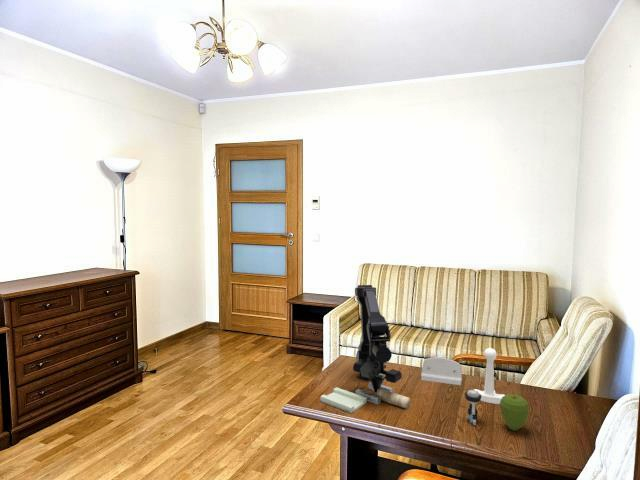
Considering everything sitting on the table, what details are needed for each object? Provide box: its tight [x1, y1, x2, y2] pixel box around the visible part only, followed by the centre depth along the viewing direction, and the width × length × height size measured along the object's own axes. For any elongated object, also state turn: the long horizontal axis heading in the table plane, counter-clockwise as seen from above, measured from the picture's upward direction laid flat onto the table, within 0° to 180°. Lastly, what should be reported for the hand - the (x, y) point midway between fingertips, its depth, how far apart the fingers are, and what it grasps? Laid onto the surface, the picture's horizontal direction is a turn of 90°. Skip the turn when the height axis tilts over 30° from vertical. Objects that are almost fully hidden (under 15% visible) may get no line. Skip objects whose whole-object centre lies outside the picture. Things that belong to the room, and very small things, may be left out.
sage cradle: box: [319, 387, 368, 414], centre depth 153 cm, size 10×14×2 cm
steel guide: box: [355, 380, 394, 406], centre depth 159 cm, size 11×10×2 cm
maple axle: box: [376, 388, 411, 410], centre depth 153 cm, size 12×4×4 cm, turn 50°
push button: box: [464, 389, 482, 426], centre depth 140 cm, size 7×5×10 cm
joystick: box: [473, 347, 506, 405], centre depth 156 cm, size 11×8×20 cm
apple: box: [499, 393, 530, 432], centre depth 135 cm, size 9×8×12 cm
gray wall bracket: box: [420, 356, 463, 386], centre depth 174 cm, size 17×5×10 cm, turn 71°
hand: (376, 392), depth 158 cm, fingers closed
